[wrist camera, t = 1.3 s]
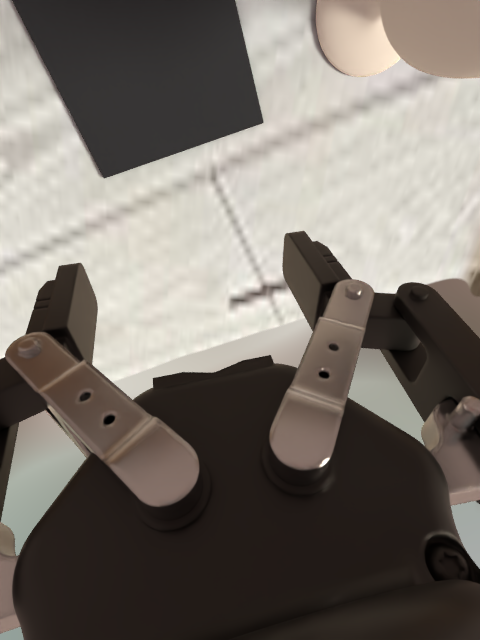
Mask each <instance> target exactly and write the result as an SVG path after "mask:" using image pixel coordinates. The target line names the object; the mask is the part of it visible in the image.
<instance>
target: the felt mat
mask: <svg viewBox="0 0 480 640" xmlns="http://www.w3.org/2000/svg"><path fill="white" fill-rule="evenodd" d="M12 1H13V3H14V5H15V7H16V9H17V11H18V13H19V15H20V16H21V18H22V20H23V22H24V24H25V26H26V28H27V30H28V32H29V34H30V36H31V38H32V40H33V42H34V44H35V46H36V47H37V49H38V51H39V53H40V55H41V57H42V59H43V61H44V63H45V65H46V67H47V69H48V71H49V73H50V75H51V77H52V78H53V80H54V82H55V84H56V86H57V88H58V90H59V92H60V94H61V96H62V98H63V100H64V102H65V104H66V106H67V108H68V109H69V111H70V113H71V115H72V117H73V119H74V121H75V123H76V125H77V127H78V129H79V131H80V133H81V135H82V137H83V139H84V140H85V142H86V144H87V146H88V148H89V150H90V152H91V154H92V156H93V158H94V160H95V162H96V164H97V166H98V168H99V170H100V171H101V173H102V175H103V177H104V178H107V177H110V176H113V175H116V174H118V173H121V172H124V171H127V170H130V169H133V168H136V167H138V166H141V165H144V164H147V163H150V162H153V161H156V160H159V159H161V158H164V157H167V156H170V155H173V154H176V153H179V152H181V151H184V150H187V149H190V148H193V147H196V146H199V145H201V144H204V143H207V142H210V141H213V140H216V139H219V138H221V137H224V136H227V135H230V134H233V133H236V132H239V131H242V130H244V129H247V128H250V127H253V126H256V125H259V124H262V123H263V118H262V114H261V110H260V105H259V101H258V97H257V93H256V88H255V84H254V80H253V75H252V71H251V67H250V63H249V58H248V54H247V50H246V46H245V41H244V37H243V33H242V28H241V24H240V20H239V16H238V11H237V7H236V3H235V0H12Z"/></svg>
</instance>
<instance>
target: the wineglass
mask: <svg viewBox="0 0 480 640" xmlns="http://www.w3.org/2000/svg"><path fill="white" fill-rule="evenodd" d="M316 28H317V34H318V39H319V42H320V45H321V48H322V50H323V52H324V54H325V56H326V57H327V59H328V60H329V61H330V63H331V64H332V65H333V66H334V67H336V68H337V69H338V70H340V71H341V72H343V73H345V74H348V75H351V76H356V77H366V76H371V75H375V74H378V73H380V72H382V71H384V70H386V69H388V68H389V67H391V66H392V65H394V64H395V63H396V62H397V61H399V60H400V59H401V58H402V59H403V60H404V61H405V62H406V63H408V64H409V65H410V66H412V67H414V68H416V69H417V70H420V71H422V72H425V73H428V74H431V75H435V76H440V77H447V78H480V0H317V6H316Z"/></svg>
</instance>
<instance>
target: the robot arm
mask: <svg viewBox="0 0 480 640" xmlns="http://www.w3.org/2000/svg"><path fill="white" fill-rule="evenodd" d="M282 267H283V275H284V278H285V281H286V282H287V284H288V286H289V288H290V290H291V292H292V294H293V295H294V297H295V299H296V301H297V303H298V305H299V307H300V308H301V310H302V312H303V314H304V316H305V318H306V319H307V321H308V323H309V325H310V327H311V329H312V331H313V333H312V336H311V338H310V340H309V343H308V345H307V348H306V350H305V353H304V355H303V357H302V360H301V362H300V365H299V367H298V368H296V367H292V366H289V365H284V364H274V363H273V360H272V357H271V355H269V356H264V357H259V358H253V359H249V360H243V361H241V362H238V363H236V364H234V365H231V366H229V367H227V368H224V369H222V370H220V371H217V372H214V373H195V372H192V373H191V372H189V373H188V372H182V373H177V374H172V375H167V376H162V377H157V378H153V388H151V389H149V390H147V391H145V392H143V393H142V394H140V395H139V396H137V397H136V398H135V399H134V400H132V399H131V398H130V397H129V396H127V395H126V394H125V393H124V392H123V391H122V390H120V389H119V388H118V387H117V386H116V385H115V384H114V383H112V382H111V381H110V380H109V379H108V378H107V377H105V376H104V375H103V374H102V373H101V372H100V371H99V370H97V369H96V368H95V367H94V366H93V365H92V360H93V350H94V340H95V331H96V321H97V311H98V306H97V300H96V296H95V294H94V291H93V289H92V286H91V284H90V281H89V279H88V276H87V274H86V272H85V269H84V267H83V265H82V264H81V263H76V264H69V265H62V266H59V268H58V271H57V275H56V279H55V280H52V281H47V282H46V283H45V284H44V286H43V287H42V288H41V289H40V290H39V292H38V295H37V299H36V302H35V305H34V310H33V312H32V315H31V318H30V322H29V325H28V328H27V331H26V335H24V336H22V337H20V338H18V339H17V340H15V341H14V342H13V343H12V344H11V345H10V346H9V347H8V349H7V351H6V354H5V357H4V358H2V359H0V633H3V632H6V631H9V630H12V629H15V628H18V627H21V629H22V633H23V637H24V640H480V569H479V568H478V566H476V564H475V563H474V561H473V560H472V559H471V558H470V556H469V554H468V553H467V551H466V550H465V548H464V546H463V544H462V542H461V539H460V537H459V534H458V532H457V529H456V526H455V523H454V519H453V516H452V510H451V506H452V505H457V504H461V503H467V502H471V501H477V502H478V503H479V504H480V338H479V337H478V336H477V335H476V334H475V333H474V332H473V331H472V330H471V328H470V327H469V326H468V325H467V324H466V323H465V322H464V321H463V320H462V319H461V318H460V317H459V315H458V314H457V313H456V312H455V311H454V310H453V309H452V308H451V307H450V306H449V304H448V303H446V301H445V300H444V299H443V298H442V297H441V296H440V295H439V294H438V293H437V292H436V291H435V290H434V289H433V288H431V287H429V286H427V285H424V284H421V283H414V282H411V283H405V284H402V285H401V286H400V287H399V288H398V290H397V293H396V294H387V293H375V292H374V290H373V289H372V287H371V286H370V285H368V284H367V283H365V282H362V281H359V280H354V279H352V278H351V277H350V276H349V274H348V273H347V272H346V271H345V269H344V268H343V267H342V265H341V264H340V263H339V262H337V259H336V258H335V256H333V254H332V253H331V251H330V250H329V249H328V247H327V246H325V245H323V244H321V243H320V242H318V241H315V242H312V241H311V239H310V238H309V237H308V235H307V234H306V232H305V231H300V232H293V233H287V234H285V237H284V250H283V266H282ZM420 341H421V342H420ZM423 345H424V346H423ZM360 348H371V349H380V350H381V352H382V354H383V355H384V357H385V359H386V360H387V362H388V363H389V365H390V367H391V368H392V370H393V371H394V373H395V375H396V377H397V378H398V380H399V381H400V383H401V385H402V386H403V388H404V389H405V391H406V393H407V395H408V396H409V398H410V399H411V401H412V403H413V404H414V406H415V408H416V409H417V411H418V412H419V414H420V416H421V417H422V419H423V421H424V422H425V423H424V425H423V427H422V430H421V435H422V439H423V442H424V444H425V446H424V445H423V444H421V443H420V442H419V441H418V440H416V439H415V438H414V437H412V436H411V435H409V434H407V433H406V432H404V431H402V430H401V429H399V428H397V427H396V426H394V425H393V424H391V423H389V422H388V421H386V420H384V419H383V418H381V417H379V416H378V415H376V414H374V413H373V412H371V411H369V410H368V409H366V408H364V407H363V406H361V405H360V404H358V403H356V402H355V401H353V400H351V399H350V398H348V393H349V389H350V385H351V382H352V378H353V374H354V370H355V367H356V363H357V359H358V356H359V352H360ZM44 410H45V411H46V412H47V413H48V414H49V415H50V417H51V418H52V419H53V420H54V421H55V422H56V423H57V424H58V426H59V427H60V428H61V429H62V430H63V431H64V432H65V433H66V434H67V435H68V436H69V438H70V439H71V440H72V441H73V442H74V443H75V444H76V446H77V447H78V448H79V449H80V450H81V452H82V453H83V454H84V455H85V457H86V460H85V461H84V462H83V464H82V465H81V466H80V468H79V469H78V470H77V472H76V473H75V474H74V476H73V477H72V478H71V480H70V481H69V482H68V484H67V485H66V486H65V488H64V489H63V490H62V492H61V493H60V494H59V496H58V497H57V498H56V500H55V501H54V502H53V503H52V505H51V506H50V507H49V509H48V510H47V511H46V513H45V514H44V515H43V517H42V518H41V520H40V521H39V522H38V523H37V525H36V526H35V527H34V529H33V530H32V532H31V533H30V535H29V536H28V538H27V540H26V542H25V543H24V545H23V547H22V549H21V552H20V555H18V556H16V554H15V538H14V534H13V532H12V531H11V529H10V528H9V527H7V526H6V525H4V524H2V523H1V517H2V511H3V506H4V500H5V495H6V490H7V485H8V479H9V474H10V469H11V463H12V458H13V453H14V447H15V441H16V436H17V431H18V426H19V422H21V421H23V420H25V419H27V418H29V417H31V416H34V415H36V414H38V413H40V412H42V411H44Z"/></svg>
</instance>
